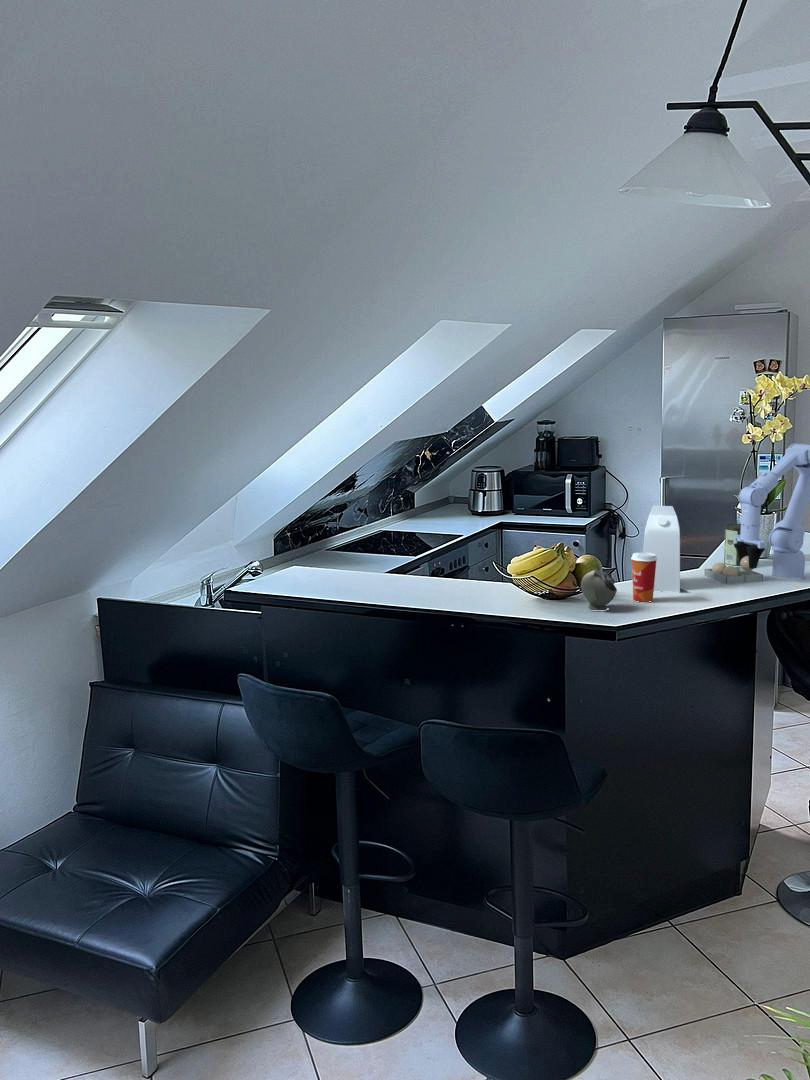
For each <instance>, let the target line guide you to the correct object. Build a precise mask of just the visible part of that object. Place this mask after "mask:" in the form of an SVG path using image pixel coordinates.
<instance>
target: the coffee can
mask: <svg viewBox="0 0 810 1080" xmlns="http://www.w3.org/2000/svg"><path fill="white" fill-rule="evenodd" d="M724 527H725V528H724V549H723V550H724V552H723V553H724V554H723V563H724V564H725V565H726V566H733V567H741V565H740V562H739V557H738V554H737V551H736V549H735V547H734V544H735V543H738V541H734V535H740V532H741V523H728V524H725V525H724ZM751 547H752V546H751Z"/></svg>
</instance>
